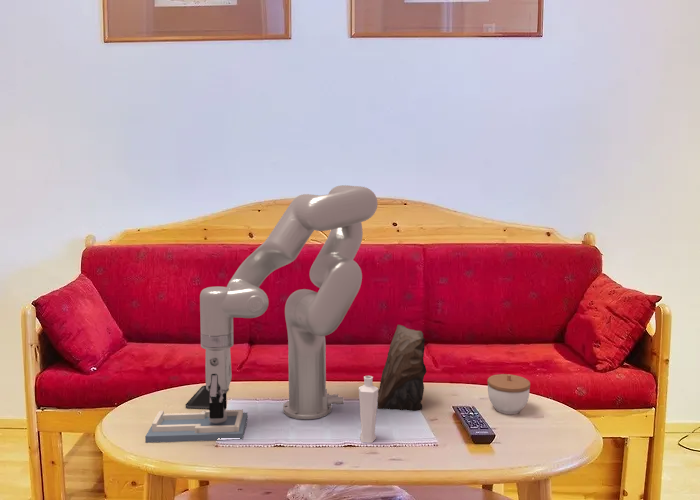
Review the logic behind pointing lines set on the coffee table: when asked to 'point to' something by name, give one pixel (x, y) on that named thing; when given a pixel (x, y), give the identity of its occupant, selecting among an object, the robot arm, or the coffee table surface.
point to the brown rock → (403, 372)
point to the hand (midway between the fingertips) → (218, 412)
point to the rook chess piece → (219, 420)
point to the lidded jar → (508, 392)
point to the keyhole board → (195, 427)
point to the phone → (200, 399)
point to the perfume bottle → (368, 409)
